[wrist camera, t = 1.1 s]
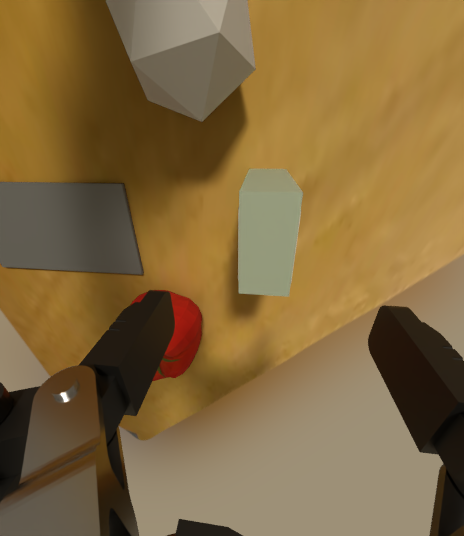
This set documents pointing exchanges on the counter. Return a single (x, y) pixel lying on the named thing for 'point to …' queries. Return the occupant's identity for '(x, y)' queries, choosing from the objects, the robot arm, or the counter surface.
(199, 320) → the tomato
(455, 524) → the robot arm
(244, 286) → the slab
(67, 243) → the mat
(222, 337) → the counter surface
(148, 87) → the die
